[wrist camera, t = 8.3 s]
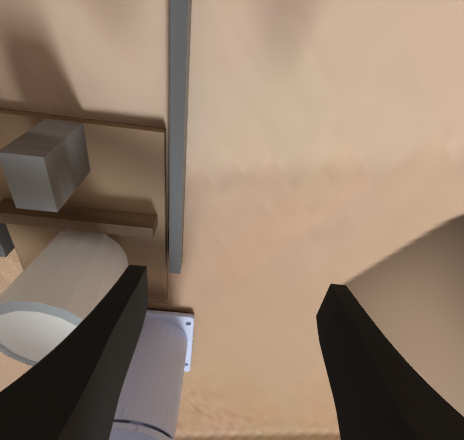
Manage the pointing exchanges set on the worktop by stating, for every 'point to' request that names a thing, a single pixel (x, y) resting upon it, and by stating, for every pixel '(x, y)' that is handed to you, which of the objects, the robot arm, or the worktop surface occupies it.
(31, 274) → the white cup
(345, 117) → the worktop surface
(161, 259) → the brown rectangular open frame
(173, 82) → the lane rails
